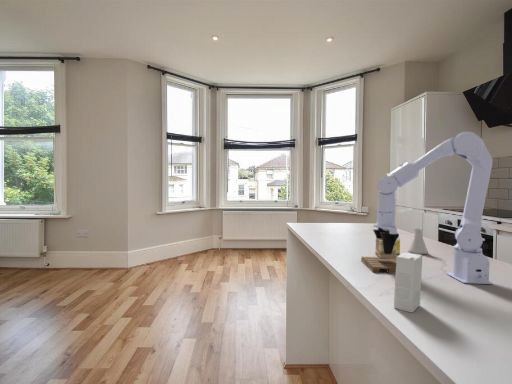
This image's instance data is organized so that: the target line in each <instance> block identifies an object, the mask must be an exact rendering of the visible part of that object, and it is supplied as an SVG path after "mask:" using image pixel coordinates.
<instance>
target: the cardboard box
mask: <svg viewBox="0 0 512 384" xmlns="http://www.w3.org/2000/svg"><path fill="white" fill-rule="evenodd" d="M374 253H375V257H379V258H380V259H396V258H397V257H396V242H395V244H394V247H393V251H392V254H385V253H384V248H383V240H382V238H375V252H374Z"/></svg>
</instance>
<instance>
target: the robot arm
mask: <svg viewBox="0 0 512 384" xmlns="http://www.w3.org/2000/svg"><path fill="white" fill-rule="evenodd" d="M454 154H456V155H457V156H459V157H461V158H463V159H465V160H466V162H467V163H469V164H470V166H471V172H470V177H469V183H468V186H467V193H466V198H465V203H464V207H463V213H462V217H461V219H460V224H459V226H458V228H456V229H455V232H454V239H455V240H456V244H454V245H453V255H452V256H453V257H452V272H451V271H447V272H446V275H448V276H450V277H452V278H454V279H456V281H457V280H458V281H459V282H461V283H463V284H483V285H493V282H492V281H490V260H489V258H488V257H487V256H486V255H484V254H483V248H482V245H483V241H484V239H483V237H482V236H483V235H482V234H481V232H482V219H483V218H482V217H483V213H484V212H483V211H484V207H485V203H486V202H485V201H486V198H487V192H488V188H489V184H490V183H489V182H490V178H491V173H492V172H491V171H492V167H493V162H494V161H493V160H494V159H493V158H492V156H491V153H490V152H489V150H488V148H487V147H486V144H485V142H484V139H482V138H481V137H480V136H479V135H477V134H476V133H475V132H472V131H462V132H460V133H459V134H457V135H456V136H455V137H450V138H449V139H446V140H444V141H443V142H442V143H440V144H438V145H437V146H435V147H434V148H433V149H431V150H430V151H428V152H427V153H426V154H424V155H423V156H421V157H420V158H418V159H416V160H415V161H413V162H407V161H406V162H405V163H403V162H402V163H399V164H398V165H399V167H397V168H396V169H394V170H393V171H391V172H387V173H386V175H385V176H382V177H381V178H380V179H379V180H378V181H377V182H376V188H377V190H378V193H377V196H378V197H377V204H376V205H377V206H376V208H377V209H376V211H377V212H376V222H375V224H372V226H373V227H374V228H376V229H372V230H373V233H374V234H375V235H374V236H375V237H376V238H382V240H383V248H384V253H385V254H392V251H393V247H394V244H395V242H396V240H397V238H398V237H399V238H400V234H399V233H398V234H397V231H398V228H397V227H396V209H397V208H396V207H397V205H396V203H397V199H396V191H397V189H398V188H399V187H400V188H402V187H403V186H405V185H406V184H408V183H410V182H411V181H412V180H414V179H416V178H417V177H419V172H420V170H423V169H424V168H426V167H427V166H429V165H430V164H433V163H434V162H435V161H437V160H439V159H441V158H443V157H448V156H450V157H451V156H454ZM376 238H375V239H376Z"/></svg>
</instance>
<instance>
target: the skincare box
mask: <svg viewBox="0 0 512 384" xmlns="http://www.w3.org/2000/svg"><path fill="white" fill-rule="evenodd" d="M396 258H397V259H396V272H395V276H394V277H395V278H394V297H393V298H394V299H393V307H394V308H395V309H398V310H400V311H403V312H408V313H414V312H415V311H416V310H417V309H418V307H419V306H420V305H421V292H422V291H421V290H422V274H423V273H422V270H423V254H416V253H411V252H409V253H408V252H403V253H400V255H399V256H398V257H396Z"/></svg>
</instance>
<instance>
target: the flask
mask: <svg viewBox="0 0 512 384" xmlns="http://www.w3.org/2000/svg"><path fill="white" fill-rule="evenodd" d="M413 230H414V235H413V238H412V241H411V243H410V246H409V248H408V250H407V253H408V252H409V253H411V254H419V255H426V254H429V251H428V249H427V245H426V243H425V241H424V236H423V231H424V228H419V227H418V228H414V229H413Z"/></svg>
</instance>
